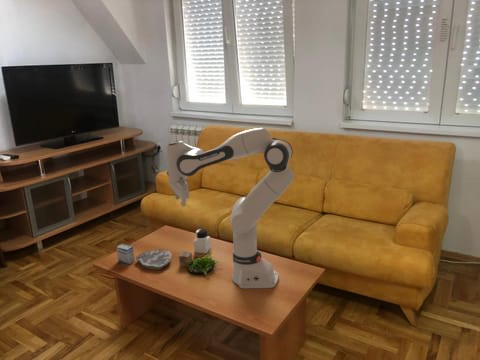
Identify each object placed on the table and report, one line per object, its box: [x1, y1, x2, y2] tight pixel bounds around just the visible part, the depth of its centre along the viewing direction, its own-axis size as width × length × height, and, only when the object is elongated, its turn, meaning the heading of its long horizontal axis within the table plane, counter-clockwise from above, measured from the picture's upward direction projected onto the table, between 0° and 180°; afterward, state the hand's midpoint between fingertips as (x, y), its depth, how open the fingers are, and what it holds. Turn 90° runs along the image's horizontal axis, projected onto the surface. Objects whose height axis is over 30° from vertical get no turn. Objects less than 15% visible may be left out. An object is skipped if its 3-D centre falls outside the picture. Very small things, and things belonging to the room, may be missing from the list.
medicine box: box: [116, 243, 136, 265], centre depth 221 cm, size 8×4×9 cm, turn 62°
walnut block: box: [178, 251, 193, 268], centre depth 216 cm, size 5×5×6 cm
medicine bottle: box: [193, 228, 212, 254], centre depth 228 cm, size 7×7×12 cm
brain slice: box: [135, 248, 172, 271], centre depth 220 cm, size 20×17×3 cm
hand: (180, 202), depth 201 cm, fingers open, 8 cm apart
